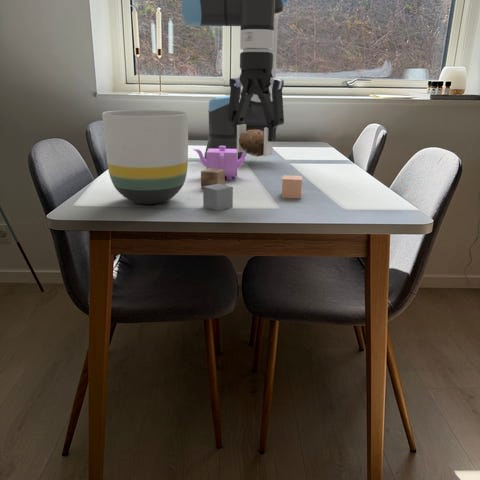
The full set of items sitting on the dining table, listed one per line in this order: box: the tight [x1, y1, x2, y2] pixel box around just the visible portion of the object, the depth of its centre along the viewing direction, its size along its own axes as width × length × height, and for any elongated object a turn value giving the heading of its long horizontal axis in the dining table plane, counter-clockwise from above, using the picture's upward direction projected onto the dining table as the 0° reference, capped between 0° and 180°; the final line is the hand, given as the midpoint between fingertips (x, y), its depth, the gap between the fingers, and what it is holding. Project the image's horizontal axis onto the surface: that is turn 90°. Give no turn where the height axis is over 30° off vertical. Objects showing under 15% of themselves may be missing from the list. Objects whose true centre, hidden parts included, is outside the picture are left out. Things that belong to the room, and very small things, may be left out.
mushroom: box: [239, 130, 264, 158], centre depth 111 cm, size 8×8×6 cm
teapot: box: [192, 146, 248, 181], centre depth 142 cm, size 18×13×10 cm
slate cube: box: [202, 184, 234, 212], centre depth 110 cm, size 5×5×5 cm
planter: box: [101, 109, 189, 205], centre depth 111 cm, size 20×20×21 cm
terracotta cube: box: [281, 174, 303, 199], centre depth 122 cm, size 5×5×5 cm
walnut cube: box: [200, 168, 226, 190], centre depth 129 cm, size 5×5×5 cm
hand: (254, 153), depth 112 cm, fingers closed on mushroom, 7 cm apart
